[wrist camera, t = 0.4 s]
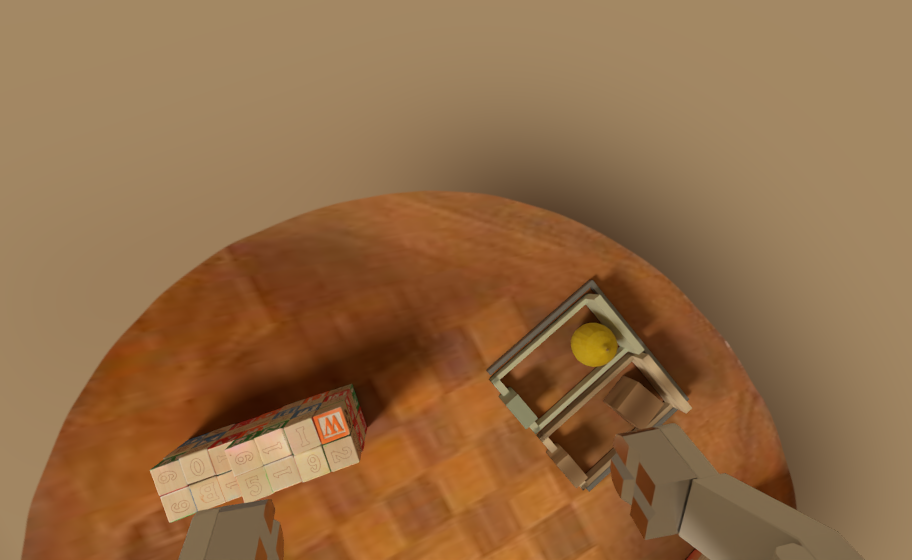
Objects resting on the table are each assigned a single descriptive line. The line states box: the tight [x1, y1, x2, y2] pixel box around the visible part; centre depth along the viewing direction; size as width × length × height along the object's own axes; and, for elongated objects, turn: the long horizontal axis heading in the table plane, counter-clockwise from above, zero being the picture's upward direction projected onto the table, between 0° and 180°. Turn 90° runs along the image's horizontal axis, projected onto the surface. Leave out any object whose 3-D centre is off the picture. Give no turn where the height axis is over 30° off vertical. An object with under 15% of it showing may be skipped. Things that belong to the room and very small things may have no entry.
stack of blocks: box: [150, 384, 367, 522], centre depth 55 cm, size 21×6×12 cm, turn 108°
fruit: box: [571, 323, 618, 367], centre depth 61 cm, size 6×6×8 cm
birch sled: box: [537, 352, 692, 490], centre depth 63 cm, size 9×18×4 cm, turn 130°
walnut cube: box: [603, 375, 664, 429], centre depth 64 cm, size 4×4×4 cm
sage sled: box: [489, 294, 645, 434], centre depth 62 cm, size 9×18×4 cm, turn 130°
